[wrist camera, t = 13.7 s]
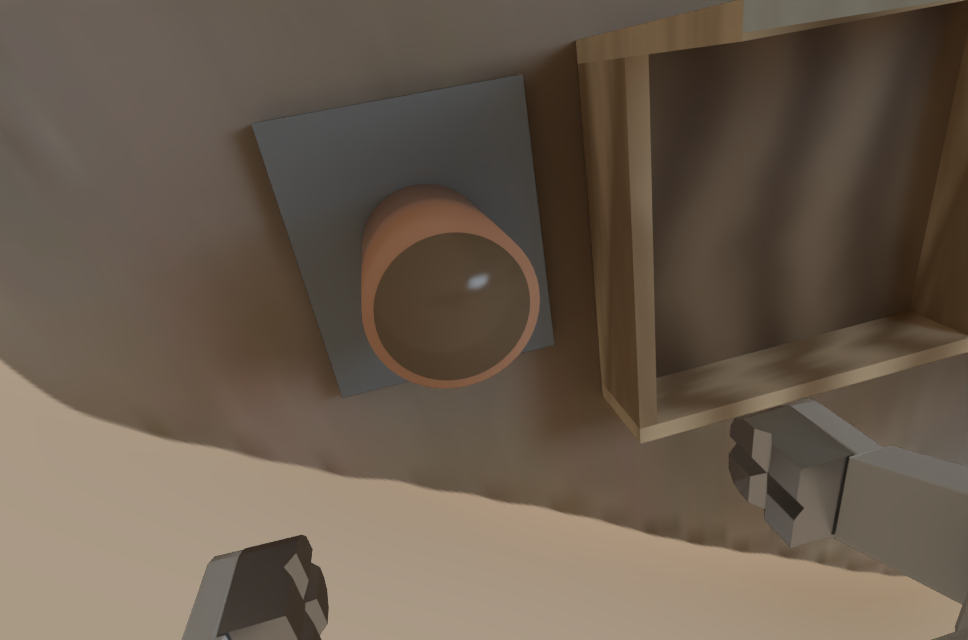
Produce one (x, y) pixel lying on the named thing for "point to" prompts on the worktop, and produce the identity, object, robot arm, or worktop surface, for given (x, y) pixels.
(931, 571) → the robot arm
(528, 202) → the slate tile
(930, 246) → the brown patterned open box
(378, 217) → the terracotta pot
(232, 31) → the worktop surface
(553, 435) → the worktop surface
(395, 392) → the worktop surface
